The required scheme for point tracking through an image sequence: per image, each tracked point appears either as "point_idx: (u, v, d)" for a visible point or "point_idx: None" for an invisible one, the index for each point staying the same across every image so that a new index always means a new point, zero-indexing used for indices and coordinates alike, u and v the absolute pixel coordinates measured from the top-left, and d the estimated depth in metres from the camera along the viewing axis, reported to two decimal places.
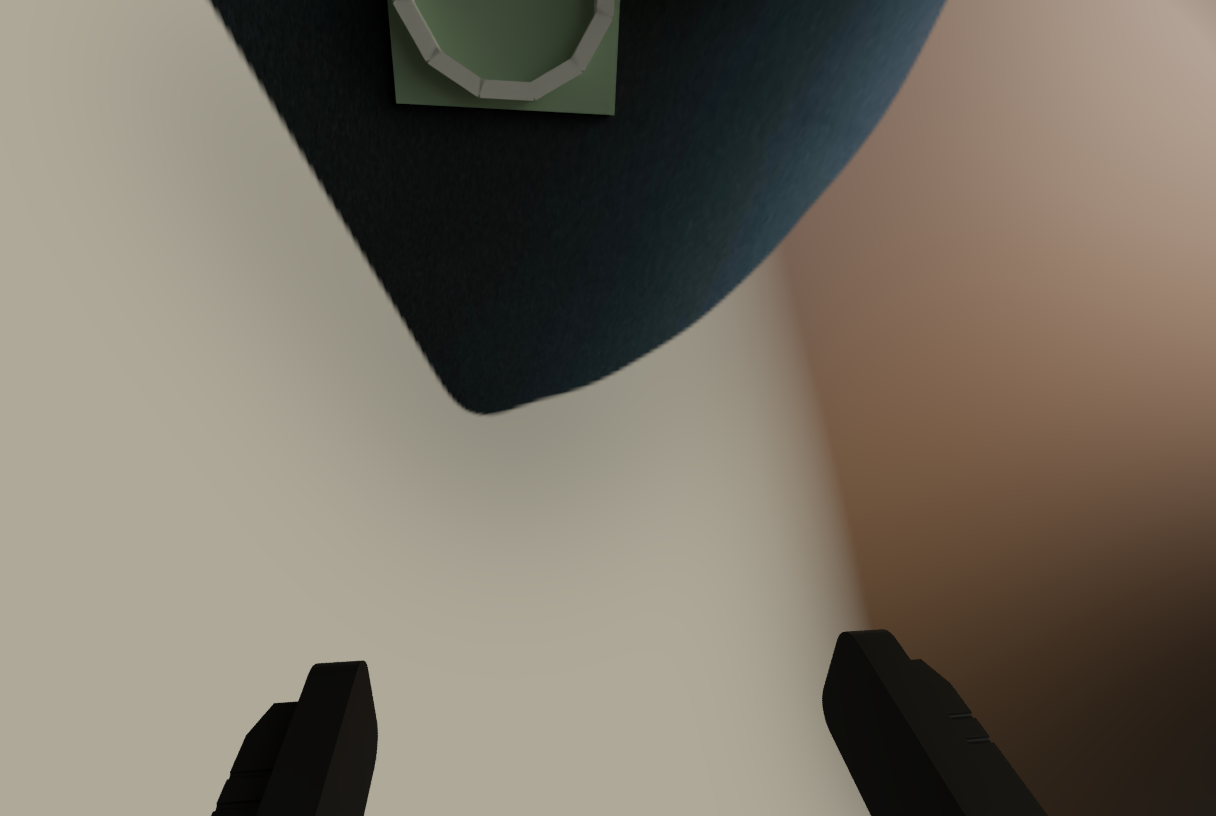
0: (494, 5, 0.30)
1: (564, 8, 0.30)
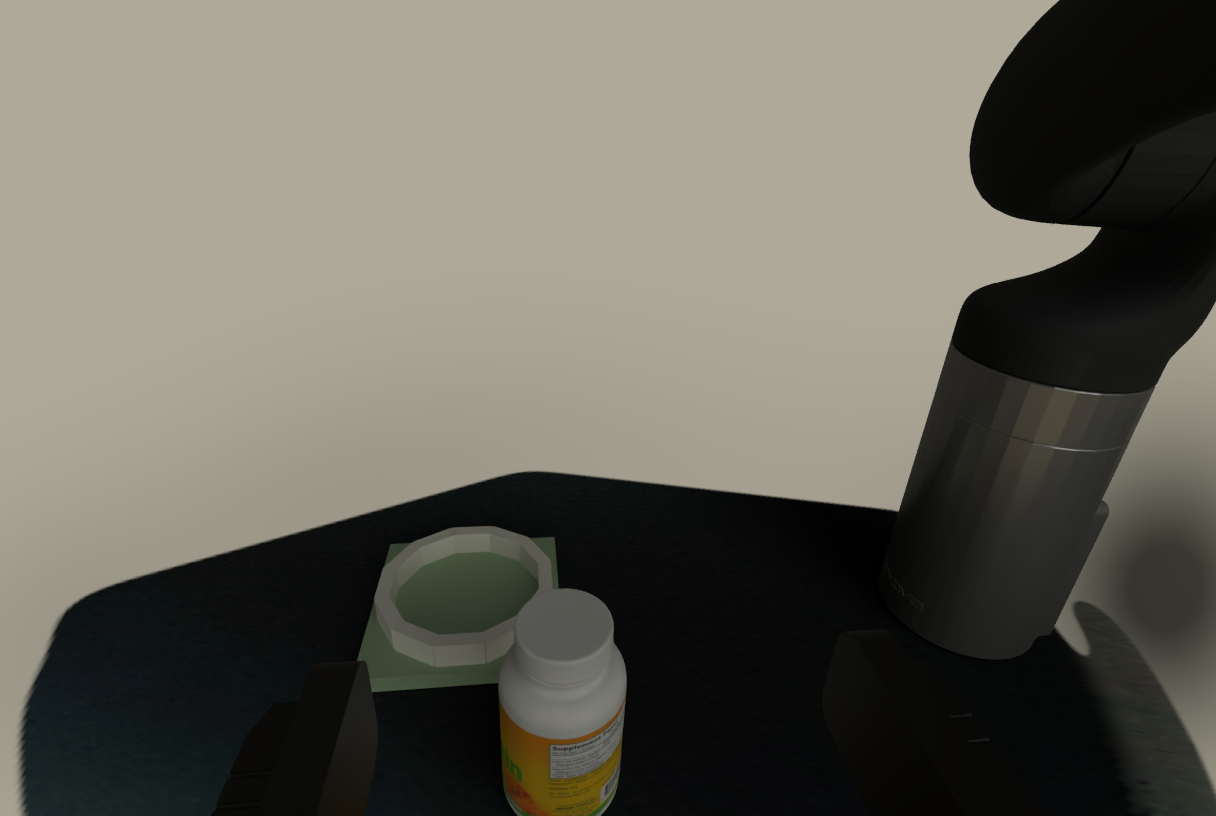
0: (451, 592, 0.38)
1: None
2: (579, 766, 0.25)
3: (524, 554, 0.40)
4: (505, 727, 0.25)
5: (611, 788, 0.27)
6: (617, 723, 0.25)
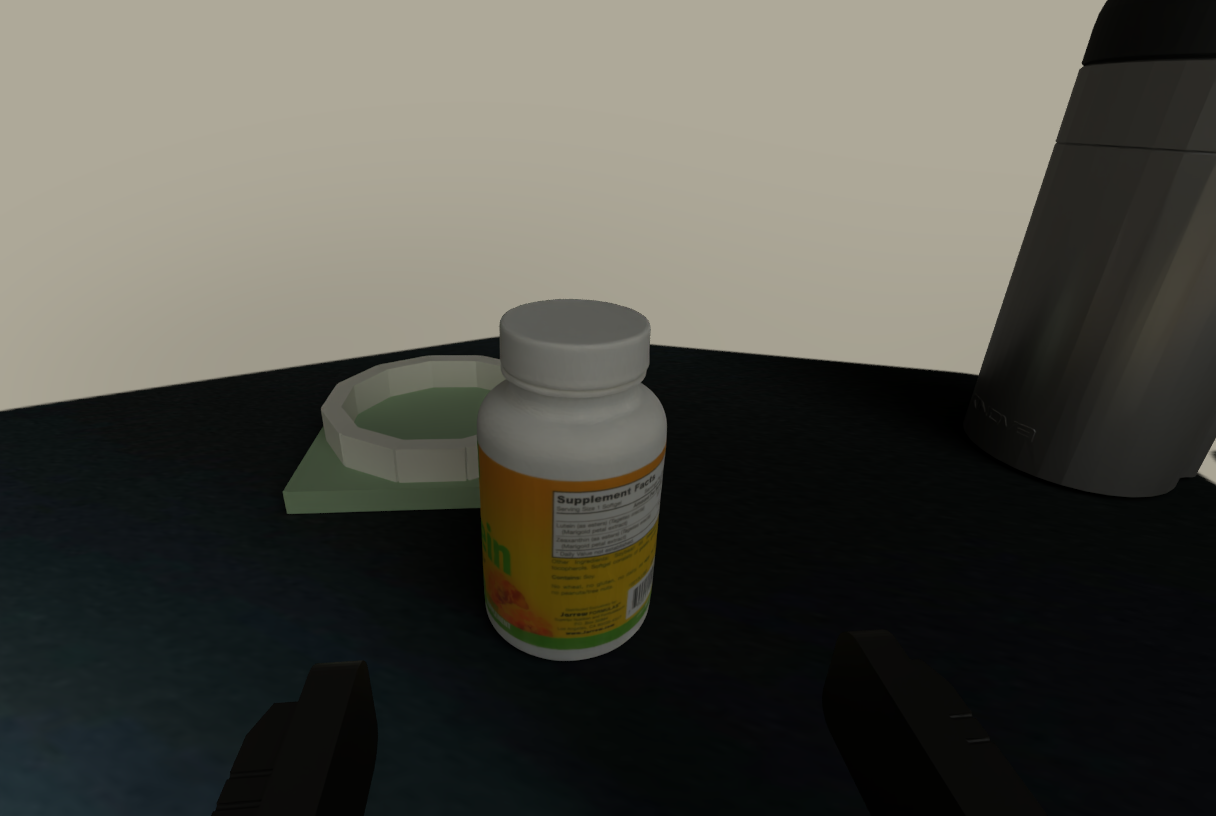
0: (425, 418, 0.30)
1: None
2: (598, 537, 0.16)
3: None
4: (486, 485, 0.17)
5: (641, 600, 0.19)
6: (654, 482, 0.17)
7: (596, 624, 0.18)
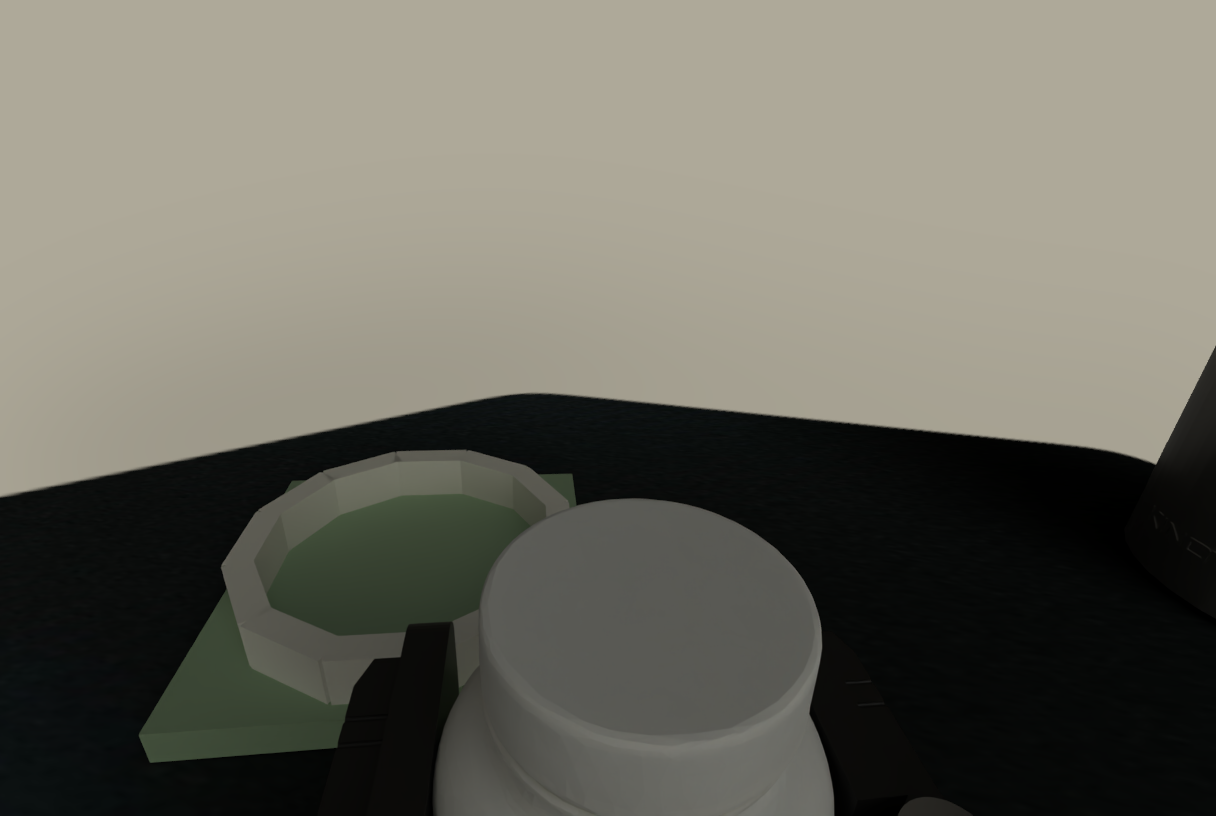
0: (385, 558, 0.21)
1: None
2: None
3: (521, 494, 0.23)
4: None
5: None
6: None
7: None
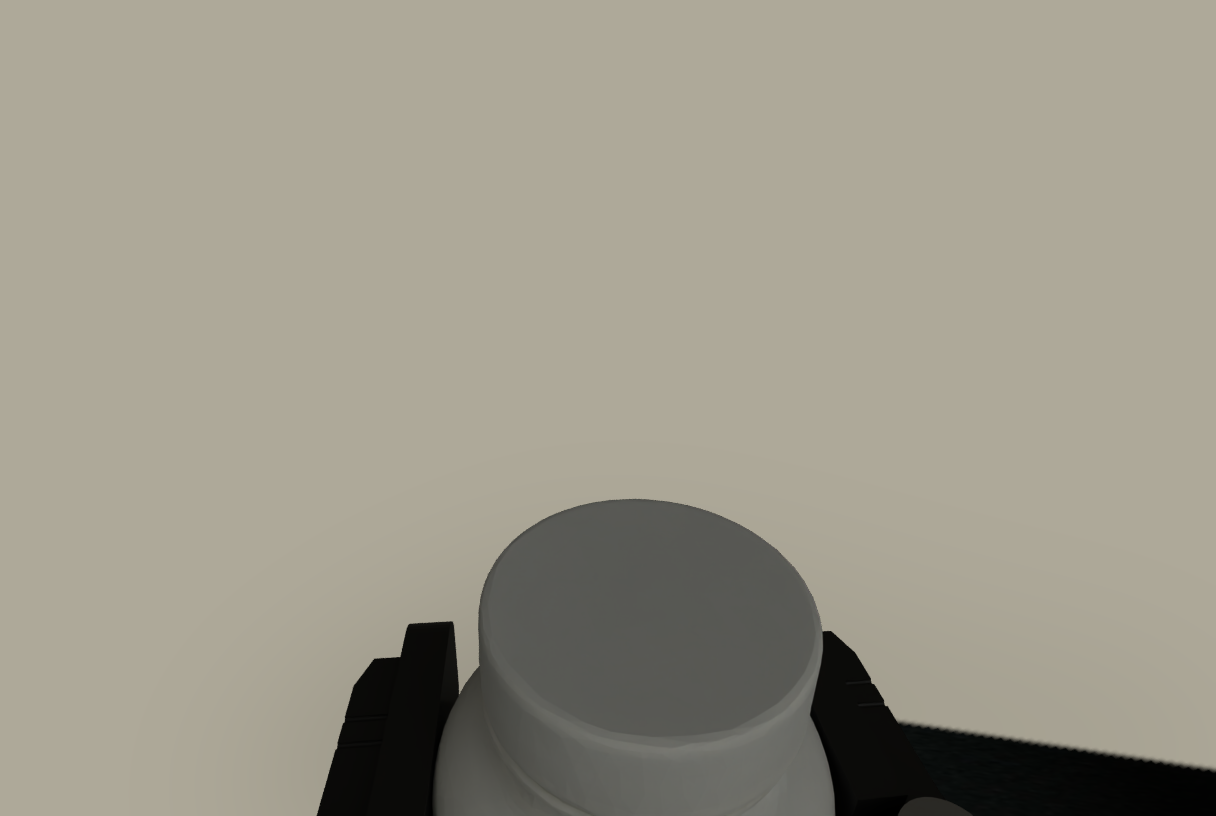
0: None
1: None
2: None
3: None
4: None
5: None
6: None
7: None
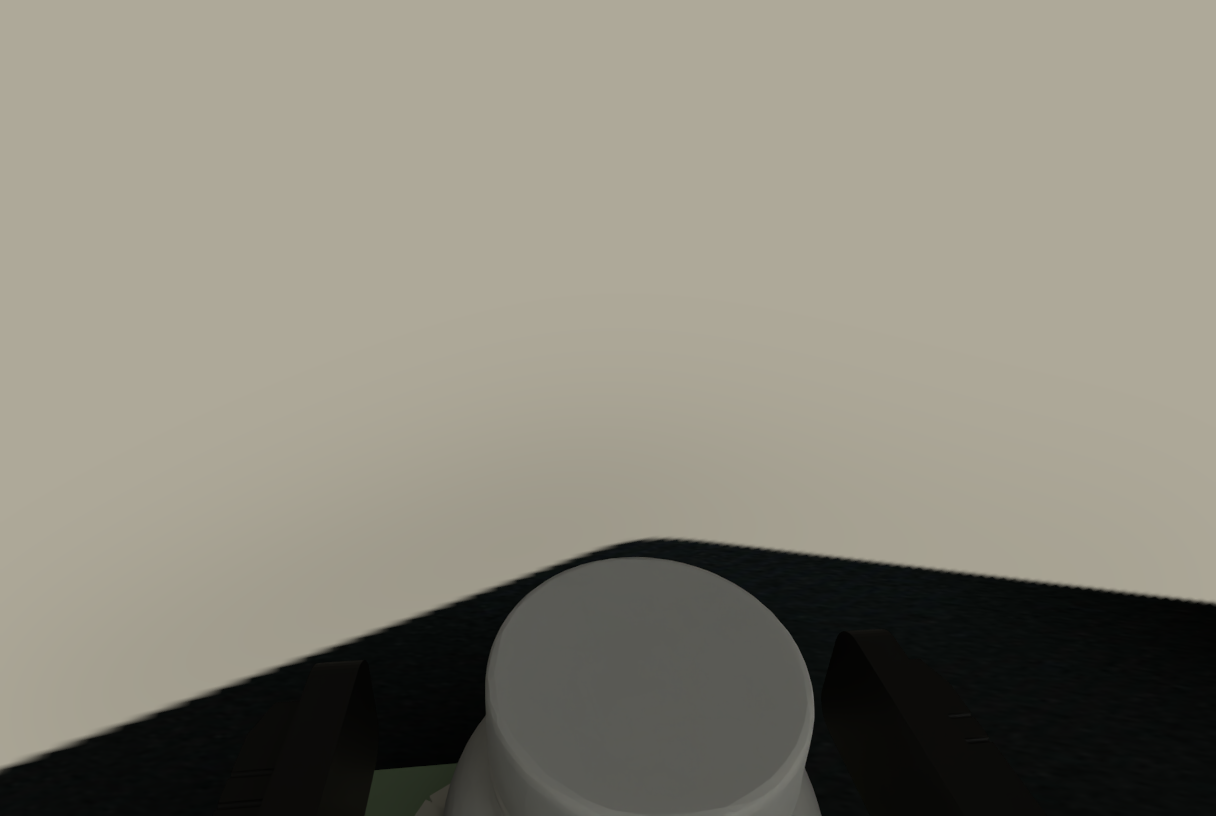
0: None
1: None
2: None
3: None
4: None
5: None
6: None
7: None
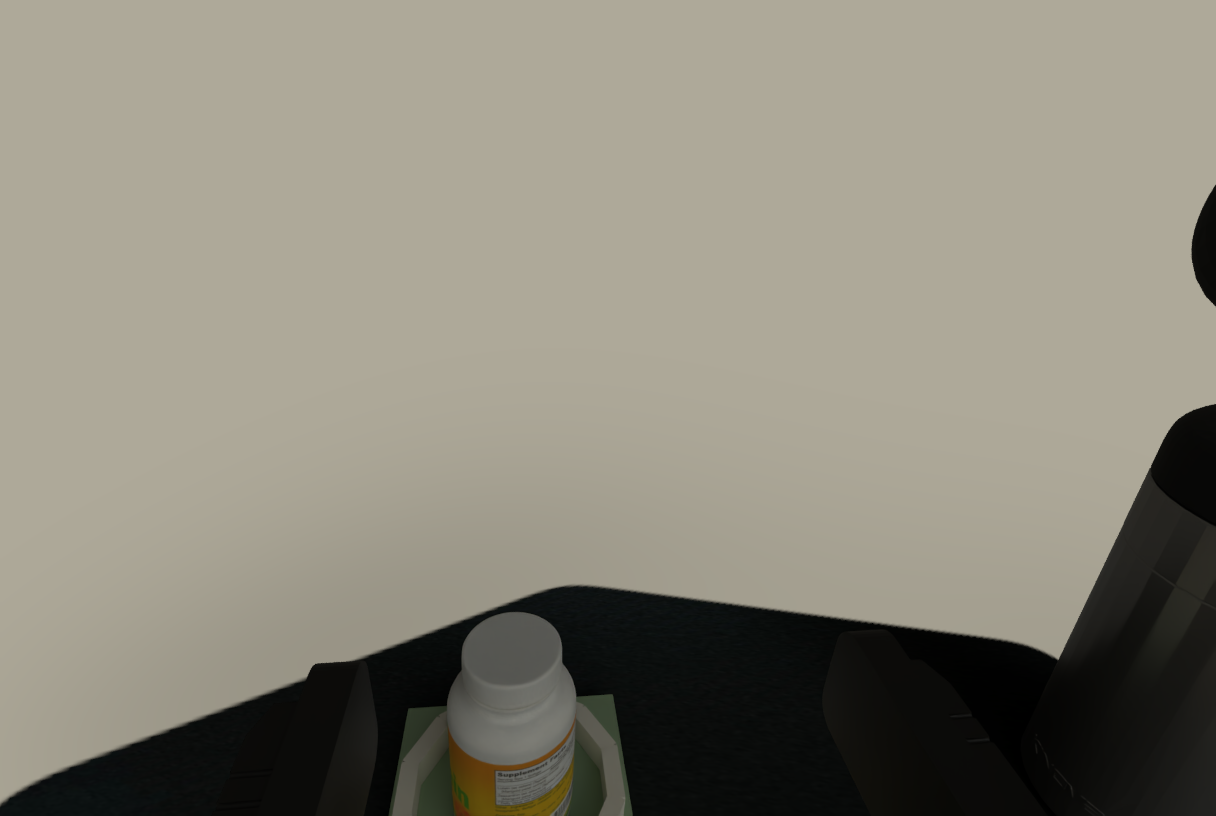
0: None
1: None
2: (526, 792, 0.25)
3: (581, 731, 0.31)
4: (452, 752, 0.25)
5: (561, 815, 0.27)
6: (565, 749, 0.25)
7: None
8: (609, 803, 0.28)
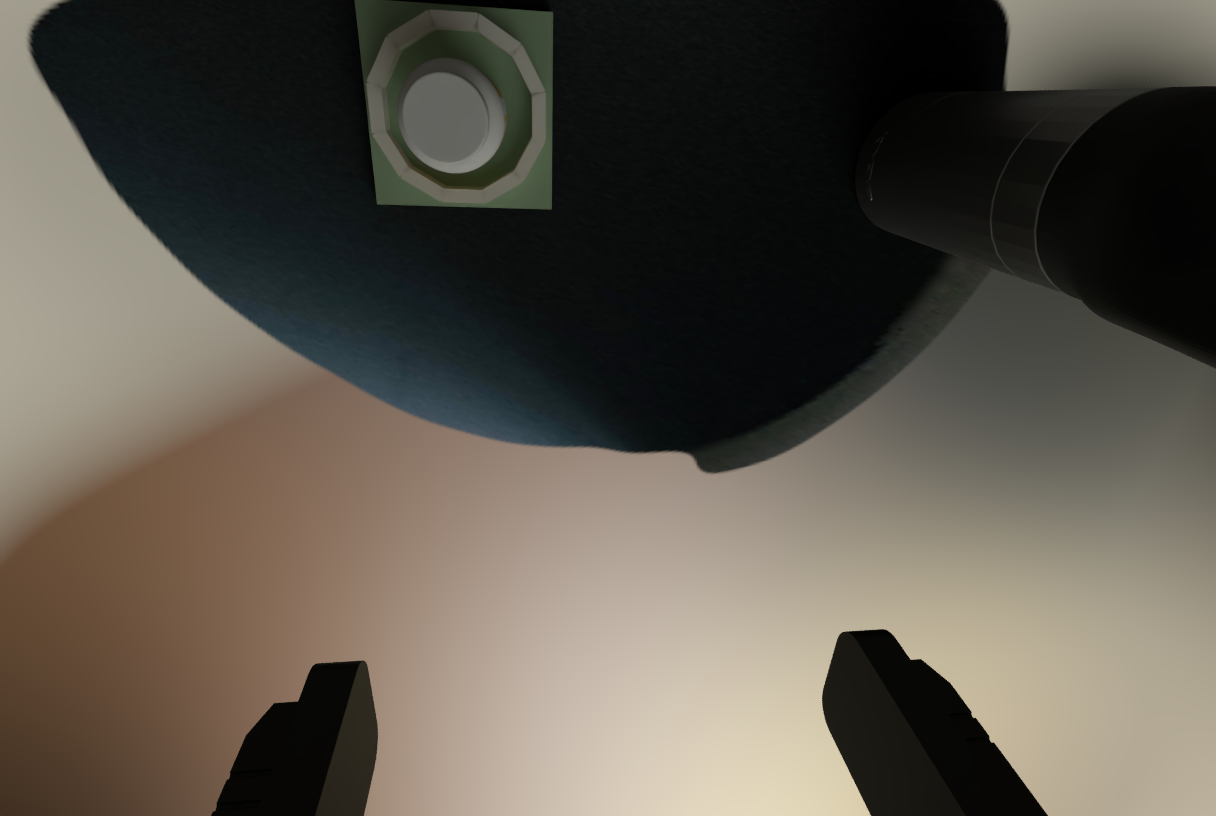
0: None
1: None
2: None
3: (517, 66, 0.36)
4: None
5: None
6: None
7: None
8: (533, 144, 0.38)
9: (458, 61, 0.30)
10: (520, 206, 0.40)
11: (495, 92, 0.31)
